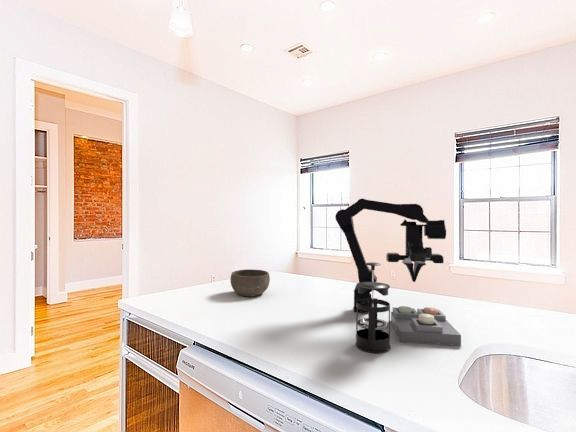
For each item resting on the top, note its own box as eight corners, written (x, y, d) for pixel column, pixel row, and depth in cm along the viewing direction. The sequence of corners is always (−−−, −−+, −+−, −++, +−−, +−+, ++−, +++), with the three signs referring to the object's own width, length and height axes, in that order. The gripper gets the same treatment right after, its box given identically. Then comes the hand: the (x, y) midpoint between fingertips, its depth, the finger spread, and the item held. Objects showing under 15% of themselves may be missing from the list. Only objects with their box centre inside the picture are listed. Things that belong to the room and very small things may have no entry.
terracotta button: (425, 316, 104) (425, 310, 104) (422, 312, 108) (422, 307, 108) (439, 317, 103) (439, 311, 103) (435, 313, 107) (435, 307, 107)
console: (400, 341, 93) (400, 326, 93) (391, 320, 111) (391, 307, 111) (460, 345, 90) (460, 329, 90) (440, 323, 109) (440, 309, 109)
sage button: (399, 315, 105) (399, 309, 105) (397, 311, 110) (397, 305, 110) (413, 315, 105) (413, 310, 105) (410, 311, 109) (410, 306, 109)
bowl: (268, 299, 139) (268, 275, 139) (226, 299, 139) (226, 275, 139) (270, 289, 156) (270, 269, 156) (234, 289, 156) (234, 268, 156)
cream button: (420, 323, 94) (420, 317, 94) (417, 319, 98) (417, 313, 98) (435, 324, 93) (435, 318, 93) (432, 320, 97) (432, 314, 97)
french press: (390, 356, 83) (390, 266, 83) (353, 351, 86) (353, 264, 86) (390, 339, 94) (390, 260, 94) (357, 336, 97) (357, 259, 97)
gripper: (390, 240, 111) (390, 285, 111) (448, 240, 108) (448, 287, 108) (386, 237, 122) (386, 279, 122) (438, 238, 119) (438, 280, 119)
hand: (413, 281), depth 118 cm, fingers closed
